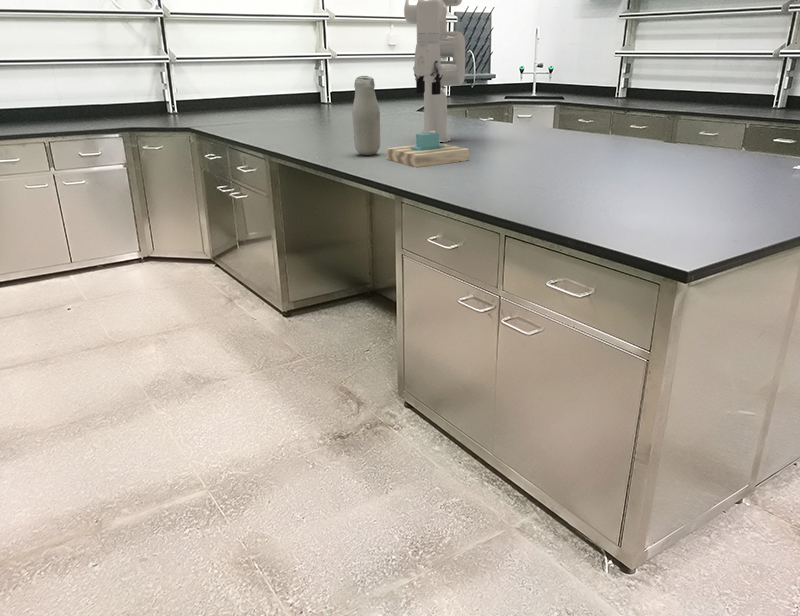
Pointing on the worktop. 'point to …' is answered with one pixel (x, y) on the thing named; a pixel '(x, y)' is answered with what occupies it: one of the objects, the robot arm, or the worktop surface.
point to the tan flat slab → (427, 155)
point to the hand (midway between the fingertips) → (428, 93)
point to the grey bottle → (366, 117)
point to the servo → (427, 141)
